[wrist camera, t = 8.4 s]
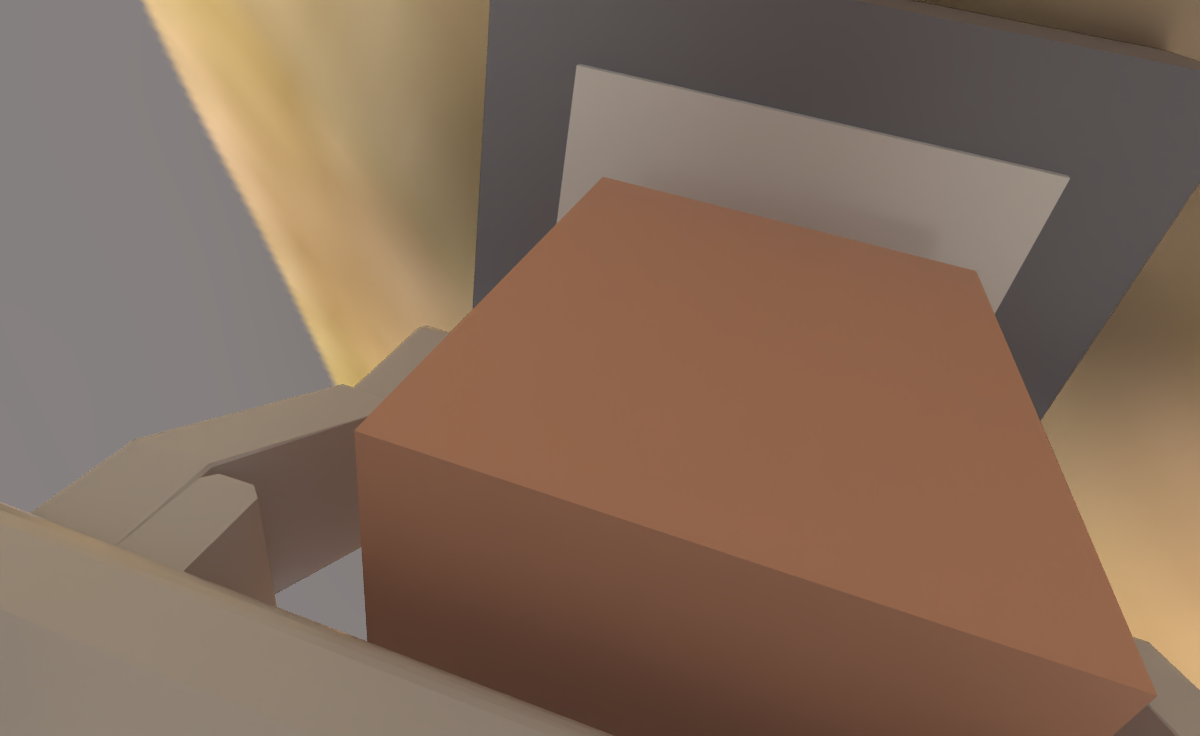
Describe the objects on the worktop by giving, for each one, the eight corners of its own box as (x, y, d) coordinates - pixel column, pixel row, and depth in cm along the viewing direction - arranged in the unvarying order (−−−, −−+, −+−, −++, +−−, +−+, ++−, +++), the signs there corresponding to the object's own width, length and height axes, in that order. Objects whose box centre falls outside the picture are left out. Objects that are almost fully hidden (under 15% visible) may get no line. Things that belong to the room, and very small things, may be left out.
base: (562, -70, 12) (489, -72, 10) (1166, 51, 11) (1272, 86, 8) (515, 382, 18) (461, 457, 15) (906, 502, 16) (920, 607, 14)
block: (602, 175, 9) (354, 429, 5) (976, 271, 9) (1156, 694, 4) (559, 447, 12) (375, 784, 7) (838, 536, 12) (842, 977, 7)
